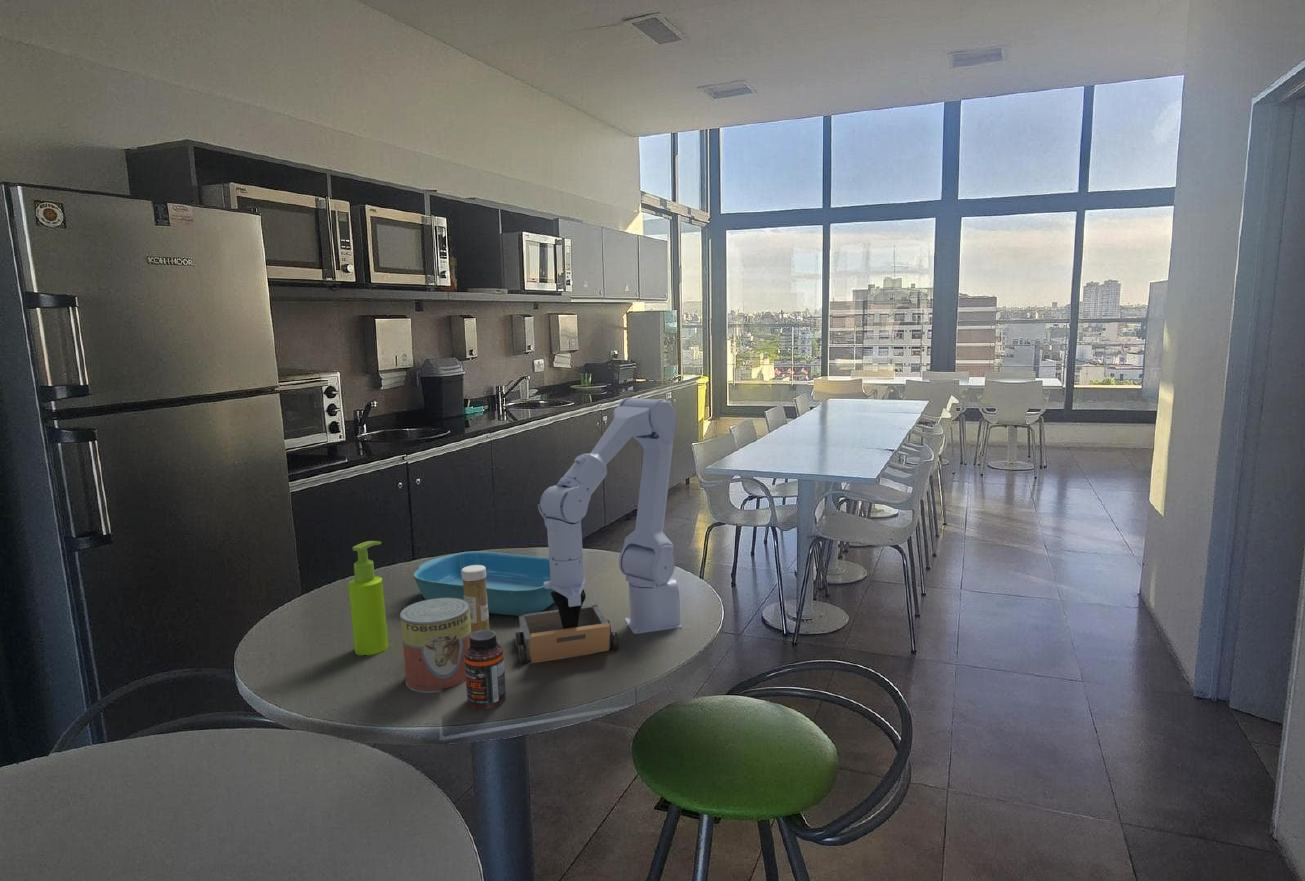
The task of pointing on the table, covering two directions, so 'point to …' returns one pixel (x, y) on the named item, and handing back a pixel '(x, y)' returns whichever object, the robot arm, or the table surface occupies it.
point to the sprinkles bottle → (476, 596)
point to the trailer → (555, 627)
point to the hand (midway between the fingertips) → (570, 631)
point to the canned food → (435, 643)
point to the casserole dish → (491, 580)
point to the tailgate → (570, 642)
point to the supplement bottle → (485, 671)
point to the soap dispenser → (367, 605)
